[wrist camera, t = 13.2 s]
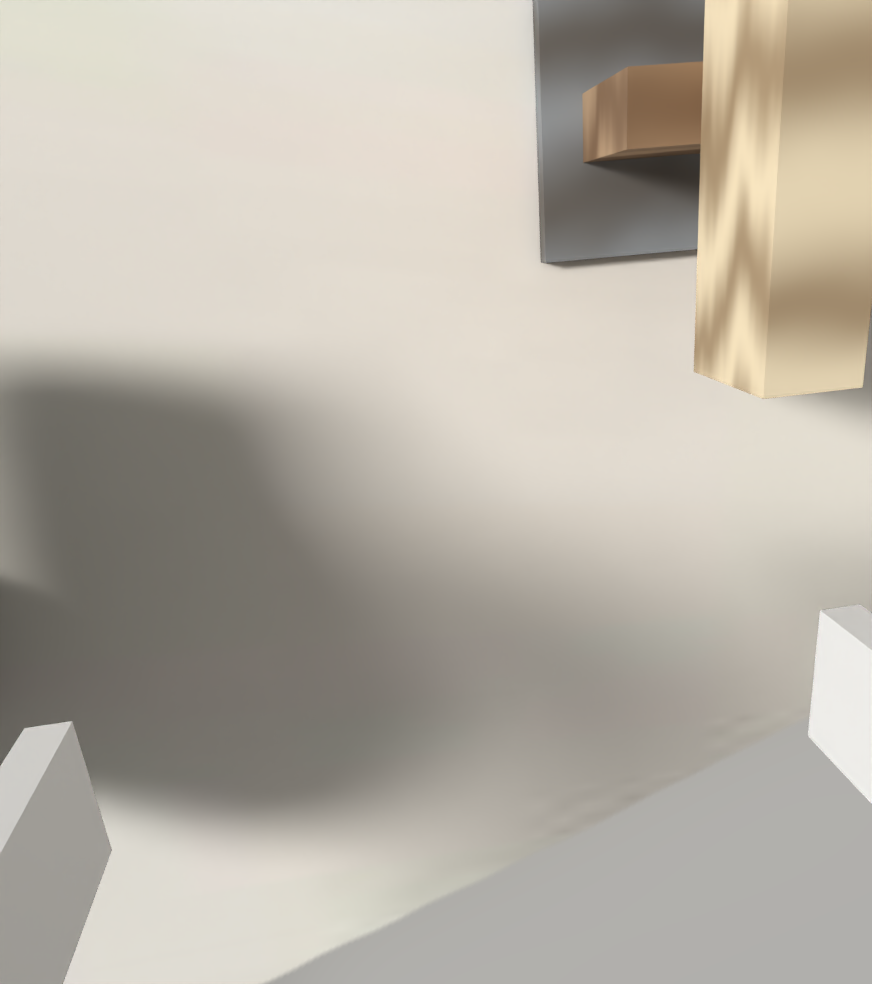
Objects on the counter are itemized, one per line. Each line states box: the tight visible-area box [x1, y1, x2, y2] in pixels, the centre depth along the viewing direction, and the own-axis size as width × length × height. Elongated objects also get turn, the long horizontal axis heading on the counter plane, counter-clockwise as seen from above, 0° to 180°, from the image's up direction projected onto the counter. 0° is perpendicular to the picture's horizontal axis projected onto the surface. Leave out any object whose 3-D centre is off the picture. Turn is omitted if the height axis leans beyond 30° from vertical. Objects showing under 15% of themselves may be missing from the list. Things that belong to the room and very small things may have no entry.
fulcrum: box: [533, 0, 705, 263], centre depth 33 cm, size 18×14×7 cm
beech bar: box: [694, 0, 872, 399], centre depth 27 cm, size 22×4×6 cm, turn 5°
